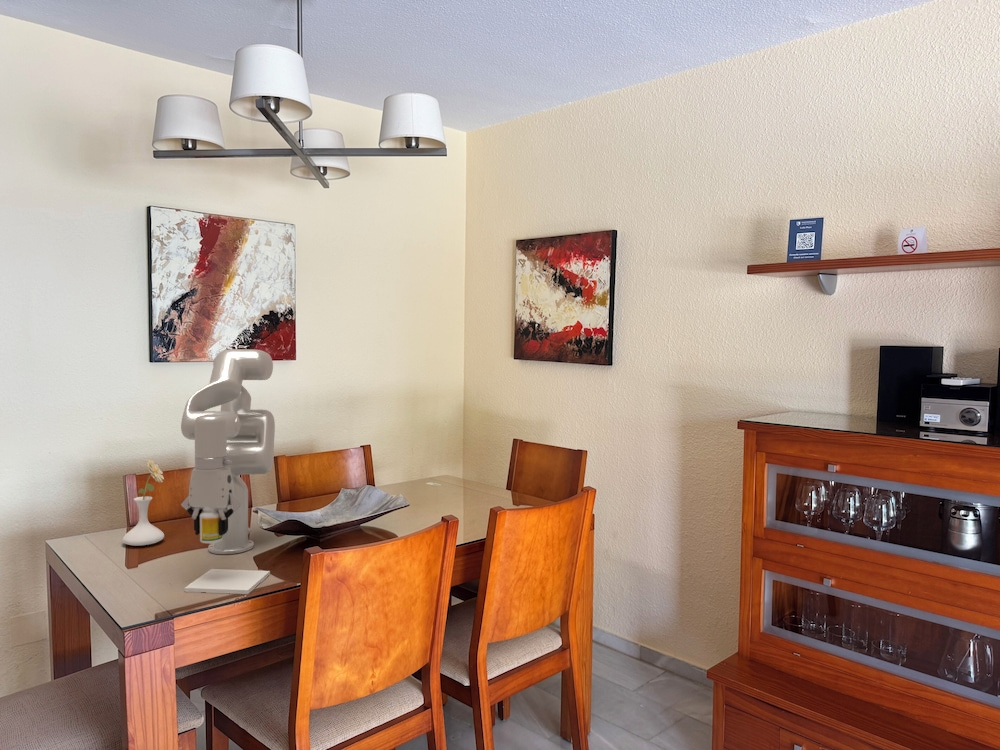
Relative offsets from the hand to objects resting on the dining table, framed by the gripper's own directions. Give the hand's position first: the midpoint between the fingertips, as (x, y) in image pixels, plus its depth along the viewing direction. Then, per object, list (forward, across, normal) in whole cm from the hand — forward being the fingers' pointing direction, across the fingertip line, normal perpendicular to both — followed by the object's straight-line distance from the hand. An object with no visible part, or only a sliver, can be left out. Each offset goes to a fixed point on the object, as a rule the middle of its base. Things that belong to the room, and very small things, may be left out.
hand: (211, 533), depth 176 cm
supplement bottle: (+2, 0, 0) cm, 2 cm away
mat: (+13, -4, 0) cm, 14 cm away
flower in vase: (+13, +36, -31) cm, 49 cm away
